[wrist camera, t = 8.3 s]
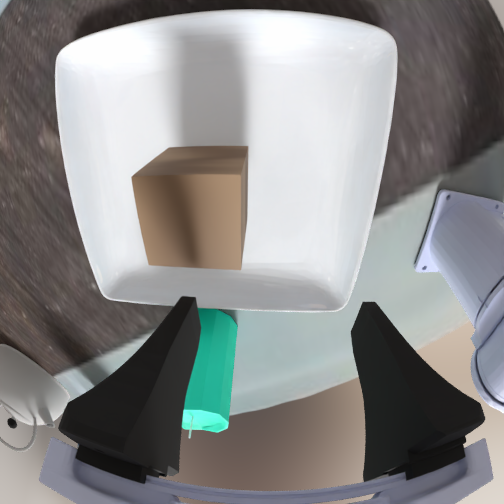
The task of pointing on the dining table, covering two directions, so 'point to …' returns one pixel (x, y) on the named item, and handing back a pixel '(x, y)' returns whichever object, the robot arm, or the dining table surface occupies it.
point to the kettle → (28, 392)
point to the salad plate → (233, 134)
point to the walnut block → (194, 206)
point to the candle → (211, 374)
